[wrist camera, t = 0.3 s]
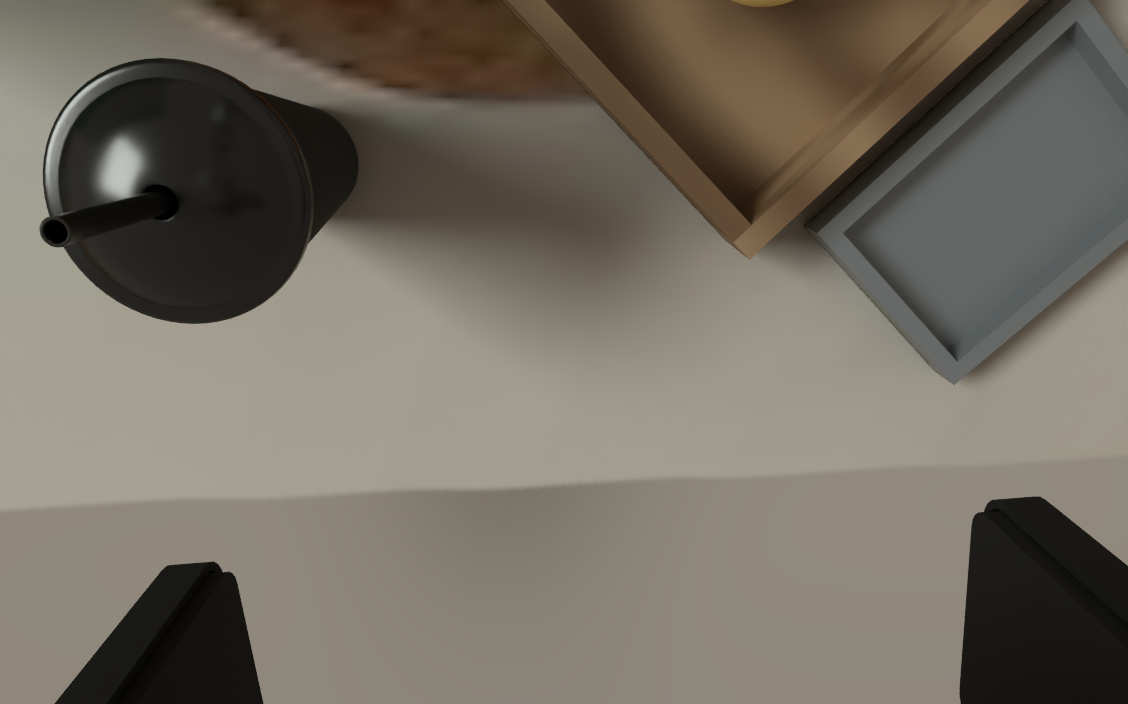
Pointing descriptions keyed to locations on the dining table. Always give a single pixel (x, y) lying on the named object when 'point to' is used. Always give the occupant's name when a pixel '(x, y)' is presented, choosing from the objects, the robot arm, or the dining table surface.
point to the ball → (762, 2)
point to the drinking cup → (190, 187)
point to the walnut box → (758, 87)
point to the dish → (994, 192)
